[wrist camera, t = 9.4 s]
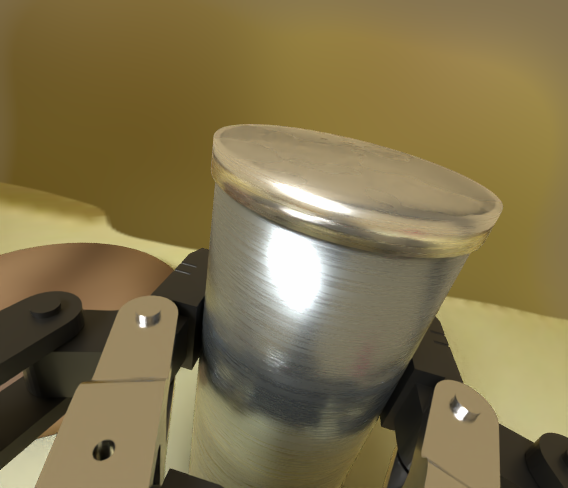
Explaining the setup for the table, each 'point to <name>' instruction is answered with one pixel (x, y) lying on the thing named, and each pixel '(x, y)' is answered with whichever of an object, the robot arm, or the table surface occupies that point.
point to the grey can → (318, 296)
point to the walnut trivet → (79, 278)
